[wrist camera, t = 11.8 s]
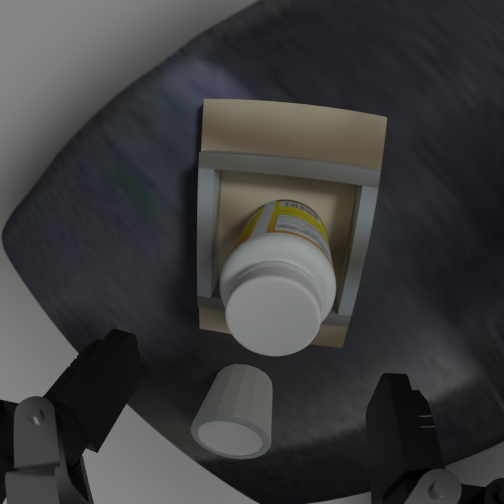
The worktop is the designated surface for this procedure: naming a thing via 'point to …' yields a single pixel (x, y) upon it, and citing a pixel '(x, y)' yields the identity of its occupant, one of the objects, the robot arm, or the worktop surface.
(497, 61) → the worktop surface
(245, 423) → the shot glass
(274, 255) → the supplement bottle
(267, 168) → the holder
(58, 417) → the robot arm
